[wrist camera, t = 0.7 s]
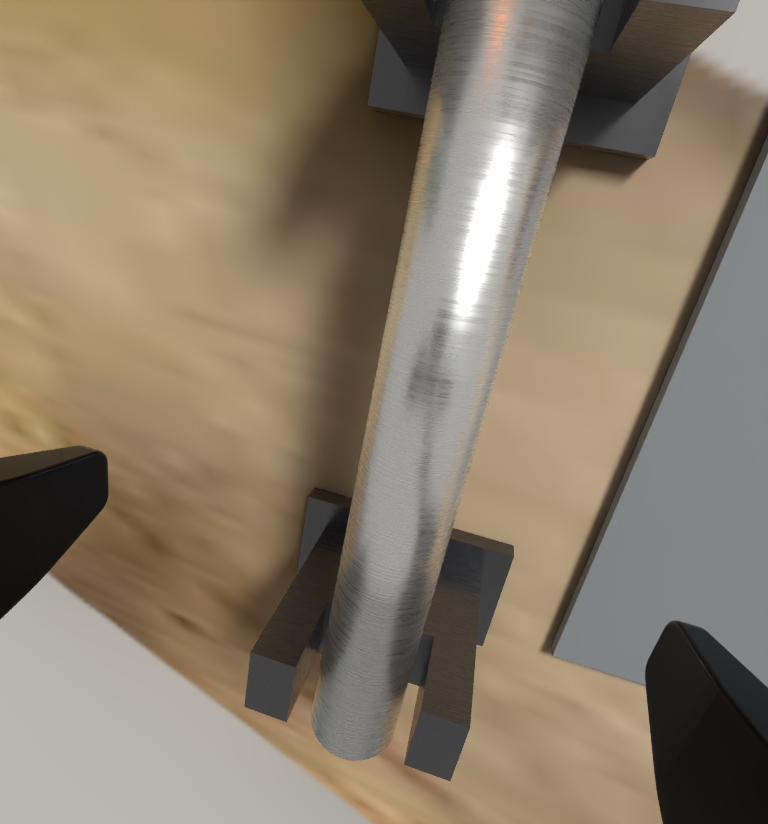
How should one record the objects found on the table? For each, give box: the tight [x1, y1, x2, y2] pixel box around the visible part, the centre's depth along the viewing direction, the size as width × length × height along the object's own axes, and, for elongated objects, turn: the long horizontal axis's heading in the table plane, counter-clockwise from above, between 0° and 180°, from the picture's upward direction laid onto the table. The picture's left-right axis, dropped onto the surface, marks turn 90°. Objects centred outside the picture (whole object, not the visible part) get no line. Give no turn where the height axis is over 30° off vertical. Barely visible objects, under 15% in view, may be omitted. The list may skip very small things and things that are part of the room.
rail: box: [311, 0, 604, 761], centre depth 14 cm, size 24×3×3 cm, turn 169°
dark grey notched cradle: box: [245, 0, 740, 781], centre depth 16 cm, size 25×9×8 cm, turn 169°
